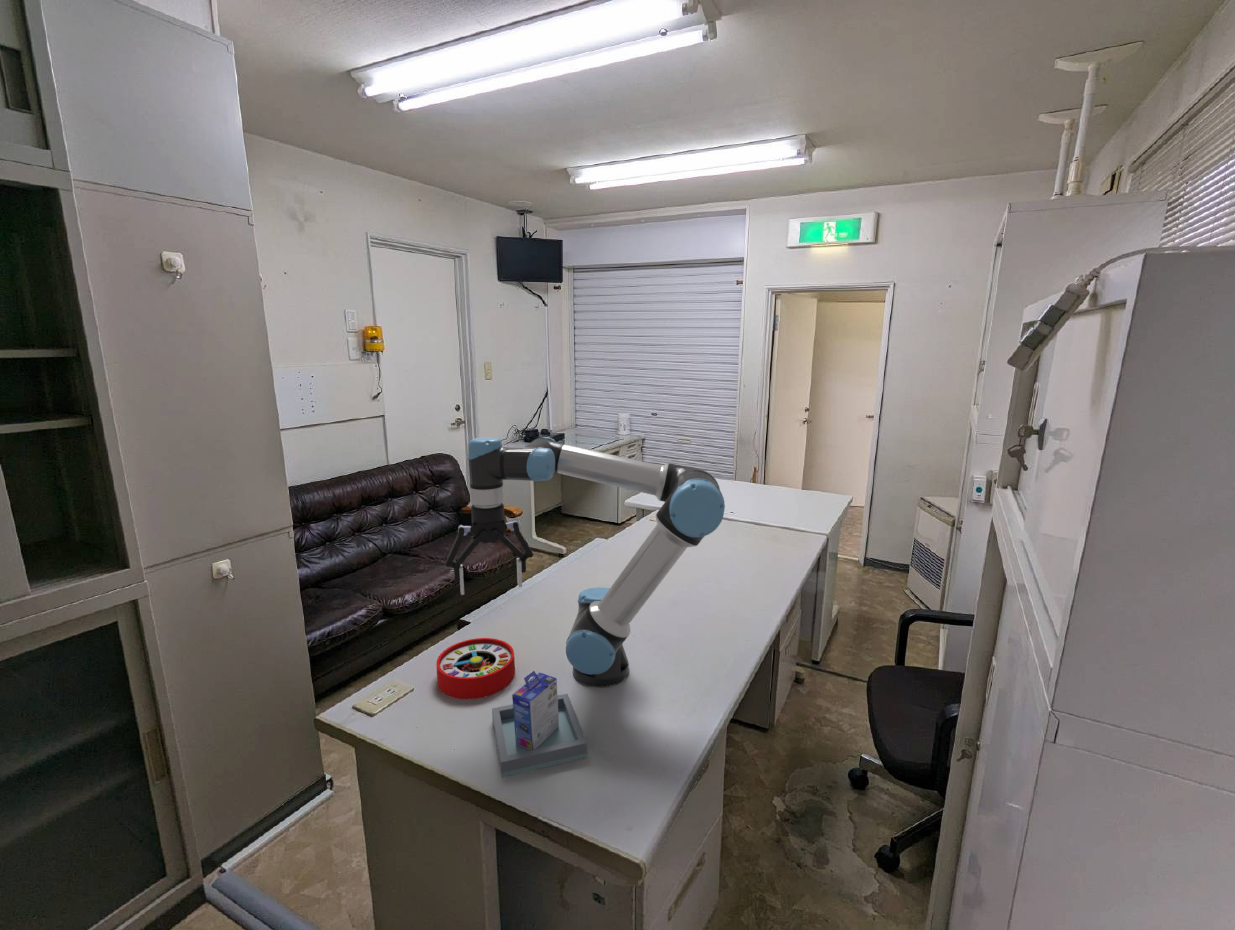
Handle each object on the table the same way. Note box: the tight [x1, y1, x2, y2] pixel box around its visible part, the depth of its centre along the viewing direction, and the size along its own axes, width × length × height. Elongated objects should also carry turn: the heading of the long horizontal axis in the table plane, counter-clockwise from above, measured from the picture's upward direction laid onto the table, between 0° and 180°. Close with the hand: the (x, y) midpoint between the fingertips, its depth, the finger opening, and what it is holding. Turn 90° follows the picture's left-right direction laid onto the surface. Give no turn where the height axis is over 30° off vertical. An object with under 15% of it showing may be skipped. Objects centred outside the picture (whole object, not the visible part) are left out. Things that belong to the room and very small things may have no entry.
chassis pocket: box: [491, 693, 588, 778], centre depth 122 cm, size 18×18×4 cm
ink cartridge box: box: [511, 670, 559, 751], centre depth 120 cm, size 10×6×14 cm, turn 151°
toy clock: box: [435, 637, 516, 700], centre depth 145 cm, size 20×6×20 cm
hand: (491, 588), depth 132 cm, fingers open, 13 cm apart
